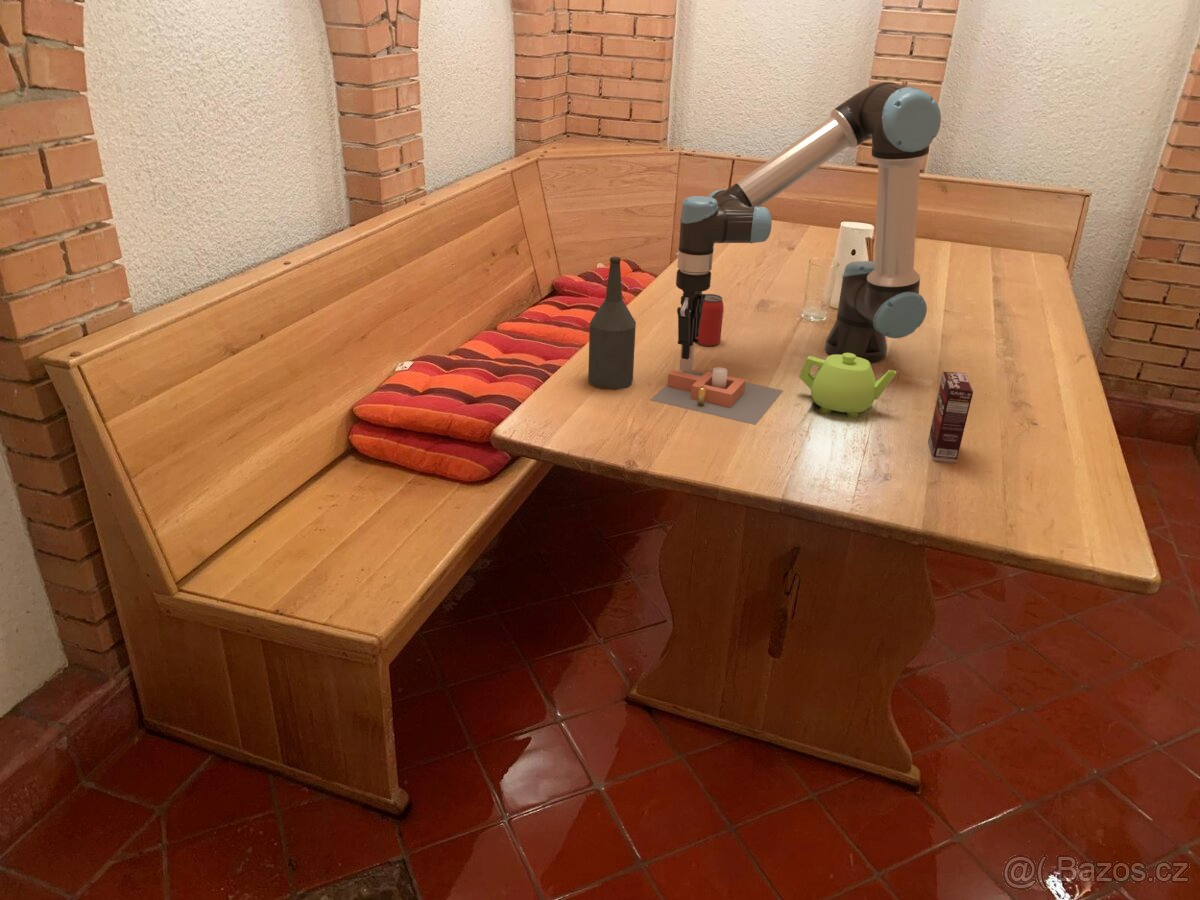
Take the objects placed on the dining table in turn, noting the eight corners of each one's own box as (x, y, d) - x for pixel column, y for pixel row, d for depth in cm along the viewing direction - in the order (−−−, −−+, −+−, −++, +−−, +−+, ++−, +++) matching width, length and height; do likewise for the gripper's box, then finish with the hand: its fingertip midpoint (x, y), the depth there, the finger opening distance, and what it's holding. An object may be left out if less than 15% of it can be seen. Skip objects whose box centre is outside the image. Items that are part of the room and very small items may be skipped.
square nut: (744, 392, 203) (745, 379, 201) (730, 407, 195) (731, 394, 194) (677, 377, 209) (678, 365, 208) (661, 391, 202) (662, 379, 200)
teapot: (889, 403, 203) (900, 350, 198) (885, 428, 192) (896, 373, 186) (800, 389, 209) (807, 337, 203) (791, 412, 198) (798, 358, 192)
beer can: (719, 348, 230) (723, 302, 225) (693, 345, 231) (696, 300, 226) (721, 338, 236) (725, 294, 230) (695, 336, 237) (699, 292, 231)
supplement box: (926, 441, 187) (942, 370, 180) (950, 444, 186) (967, 373, 179) (931, 461, 180) (948, 387, 172) (957, 464, 179) (975, 390, 171)
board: (782, 396, 205) (786, 365, 201) (754, 431, 189) (758, 398, 185) (684, 374, 214) (686, 345, 211) (649, 406, 198) (651, 374, 195)
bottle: (600, 398, 201) (604, 266, 187) (580, 382, 209) (583, 253, 194) (640, 391, 205) (647, 261, 191) (619, 375, 213) (625, 249, 199)
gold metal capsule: (705, 404, 196) (707, 387, 195) (703, 407, 195) (704, 390, 193) (698, 402, 197) (700, 385, 195) (696, 405, 196) (697, 388, 194)
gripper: (687, 260, 205) (679, 357, 216) (667, 275, 194) (660, 377, 205) (719, 264, 202) (710, 363, 213) (701, 280, 191) (692, 383, 202)
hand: (685, 369), depth 209 cm, fingers closed
